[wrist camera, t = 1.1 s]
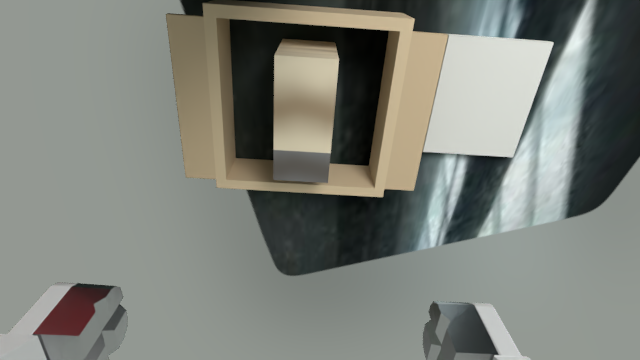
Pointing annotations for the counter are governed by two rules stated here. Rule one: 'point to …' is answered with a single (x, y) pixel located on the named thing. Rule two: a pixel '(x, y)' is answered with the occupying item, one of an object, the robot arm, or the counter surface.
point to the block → (304, 109)
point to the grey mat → (484, 94)
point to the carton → (255, 174)
